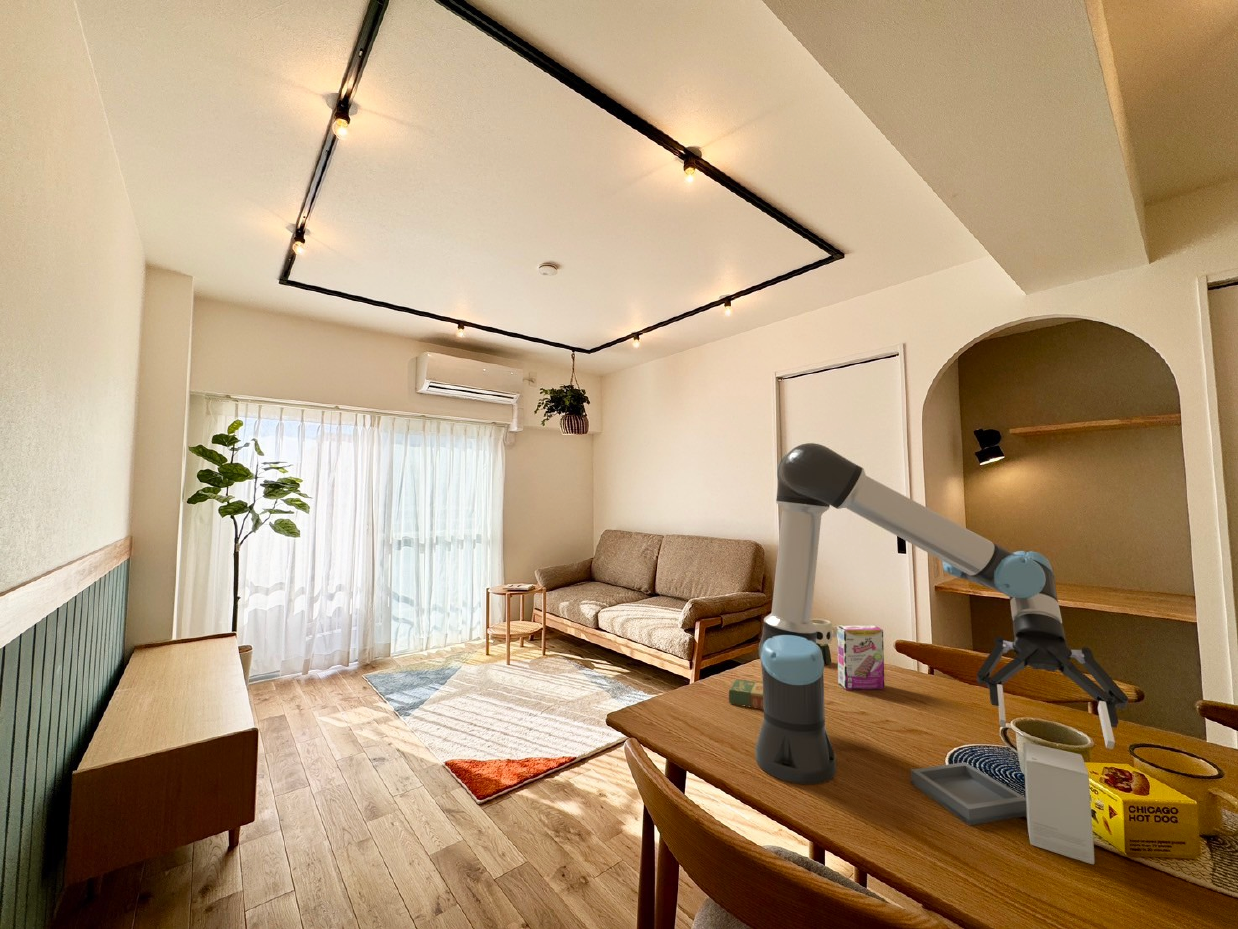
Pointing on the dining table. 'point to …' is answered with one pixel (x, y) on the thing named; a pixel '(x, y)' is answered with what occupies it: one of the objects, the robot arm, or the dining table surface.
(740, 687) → the carton
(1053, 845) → the supplement box
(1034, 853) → the dining table surface
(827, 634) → the character mug
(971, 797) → the holder tray
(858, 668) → the candy bar box
